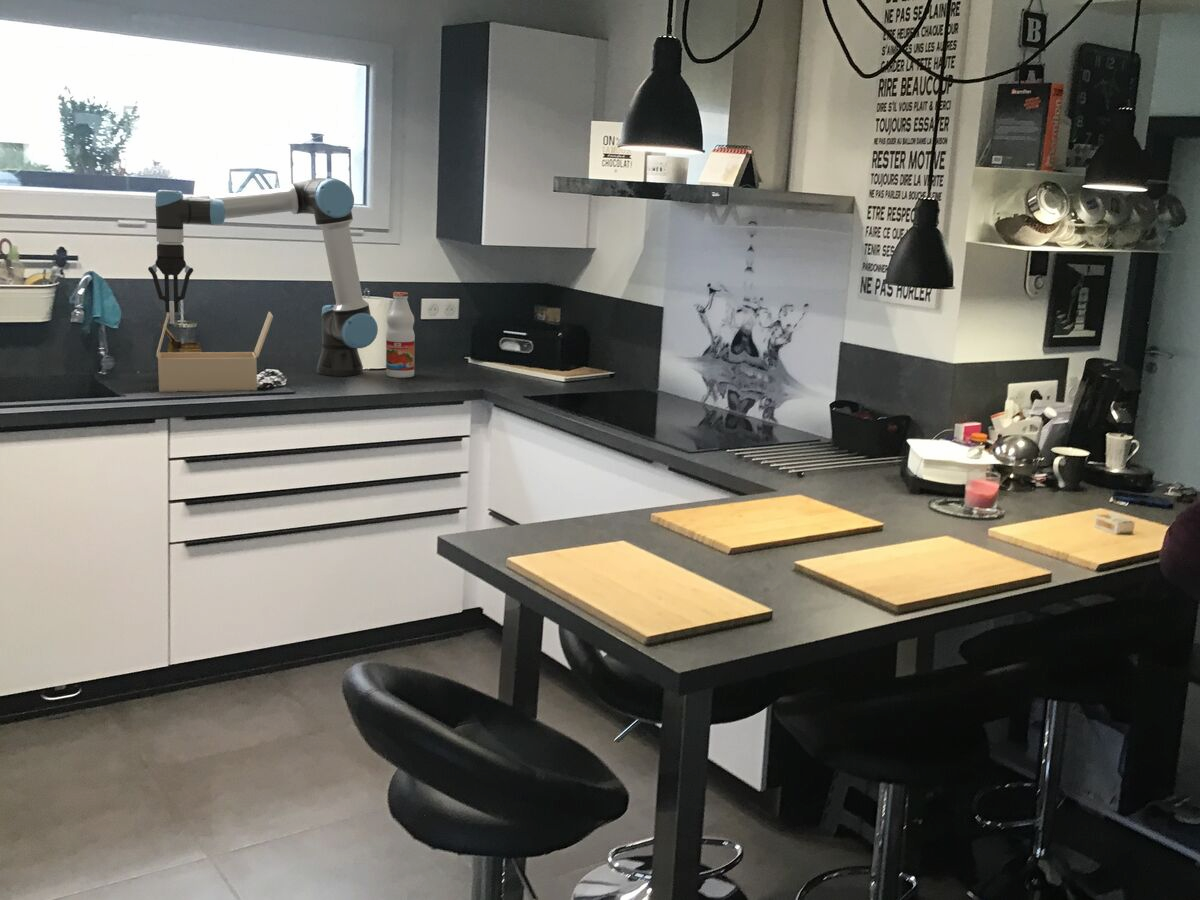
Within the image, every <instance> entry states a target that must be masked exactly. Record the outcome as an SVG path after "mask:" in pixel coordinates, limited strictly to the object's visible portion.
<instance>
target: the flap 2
mask: <svg viewBox="0 0 1200 900" xmlns="http://www.w3.org/2000/svg"><path fill="white" fill-rule="evenodd" d="M273 319H274V316H273V314H272V312H271V311H268V312H267V315H266V318H265V320H264V324H263V326H262V329H261V331H260V335H259V336H258V339H257V342H256V346H255V347H254V351H253V352H254V354H255V356H256V358H259V356H260V353H261V351H262V348H263V345H264V343H265V340H266V338H267V336H268V332H269V330H270V326H271V323H272V321H273Z"/></svg>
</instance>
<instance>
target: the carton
mask: <svg viewBox="0 0 1200 900" xmlns="http://www.w3.org/2000/svg"><path fill="white" fill-rule="evenodd" d="M257 361H258V360H257V356H256V354H255V352H254V351H233V352H232V351H229V352H226V351H219V352H218V351H217V352H215V351H212V352H211V351H210V352H209V351H207V352H206V351H205V352H203V351H202V352H185V353H178V352H174V353H168V352H159V356H158V357H157V371H158V392H159V393H178V392H177V391H202V392H236V391H235V390H246V391H245V392H249V390H254V392H255V391H258V375H257V374H258V369H257V368H258V366H257V363H258V362H257ZM247 390H248V391H247Z"/></svg>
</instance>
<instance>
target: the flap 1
mask: <svg viewBox="0 0 1200 900" xmlns="http://www.w3.org/2000/svg"><path fill="white" fill-rule="evenodd" d="M169 320H170V312H166V317H165V320H164V323H163V324H164V327H163V329H162V332H161V336H160V338H159V342H158V346H157V350H156V355H155V357H156V358H158V356H159V353H161V349H162V345H163V341H164V337H165V334H166V333H165V330H166V327H167V325H168V323H169ZM167 328H168V327H167Z"/></svg>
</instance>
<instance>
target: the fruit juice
mask: <svg viewBox="0 0 1200 900" xmlns="http://www.w3.org/2000/svg"><path fill="white" fill-rule="evenodd" d="M392 296H393V301H392V304H391V307H390V310H389V311H388V314H387V316H386V323H387V331H386V335H385V339H386V341H385V345H386V346H385V347H386V349H385V351H386V353H385V355H386V356H385V357H386V358H385V371H386V376H387V377H391V378H400V379H401V378H403V379H404V378H412V377H414V376H415V357H416V356H415V354H416V353H415V351H416V350H415V339H416V338H415V337H416V335H415V331H414V325H415V316H414V314H413V312H412V310H411V307H410V305H409V304H410V303H409V302H408V298H409V293H408V292H404V291H394V292H392Z"/></svg>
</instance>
